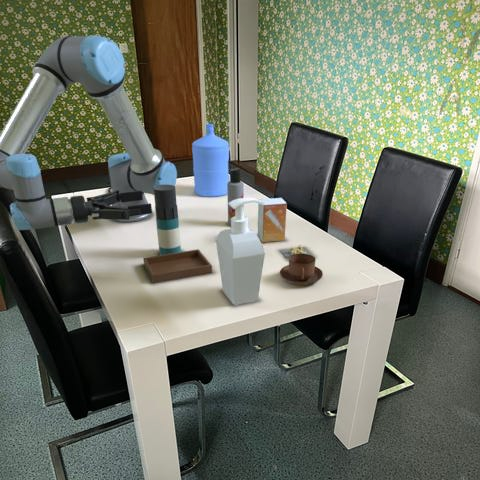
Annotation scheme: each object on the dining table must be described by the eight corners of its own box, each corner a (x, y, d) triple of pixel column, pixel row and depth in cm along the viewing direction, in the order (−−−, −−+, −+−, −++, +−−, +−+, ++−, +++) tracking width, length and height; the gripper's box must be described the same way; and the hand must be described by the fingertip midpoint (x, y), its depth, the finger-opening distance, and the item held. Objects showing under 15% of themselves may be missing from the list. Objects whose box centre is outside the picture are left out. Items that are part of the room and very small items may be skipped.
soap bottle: (269, 302, 120) (273, 204, 107) (233, 309, 117) (232, 210, 104) (251, 282, 130) (252, 190, 117) (217, 288, 127) (214, 195, 114)
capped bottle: (157, 250, 150) (152, 205, 142) (178, 247, 152) (174, 202, 144) (162, 258, 144) (157, 212, 136) (183, 255, 146) (180, 209, 139)
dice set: (292, 258, 144) (292, 252, 143) (286, 252, 148) (287, 246, 147) (307, 256, 145) (308, 250, 144) (301, 250, 149) (301, 244, 148)
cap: (154, 214, 143) (151, 185, 139) (174, 212, 145) (172, 183, 141) (159, 221, 138) (156, 191, 134) (179, 218, 140) (177, 189, 136)
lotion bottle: (241, 227, 168) (241, 170, 157) (226, 226, 169) (225, 170, 158) (244, 221, 172) (244, 166, 162) (229, 220, 173) (228, 166, 163)
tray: (144, 265, 140) (143, 257, 139) (199, 256, 146) (198, 249, 144) (153, 283, 130) (152, 275, 129) (212, 273, 135) (211, 265, 134)
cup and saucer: (329, 285, 129) (331, 264, 125) (289, 291, 126) (290, 270, 122) (311, 267, 138) (313, 248, 135) (273, 272, 136) (274, 253, 132)
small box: (262, 243, 155) (263, 204, 148) (257, 236, 160) (257, 199, 153) (285, 240, 156) (287, 202, 149) (279, 234, 162) (281, 197, 155)
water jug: (216, 199, 196) (214, 128, 182) (187, 193, 204) (182, 125, 189) (236, 190, 207) (236, 123, 193) (208, 185, 215) (205, 120, 200)
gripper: (71, 210, 143) (140, 202, 149) (78, 238, 123) (157, 227, 129) (66, 185, 139) (137, 178, 145) (72, 210, 119) (154, 201, 125)
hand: (146, 201), depth 137 cm, fingers open, 13 cm apart
